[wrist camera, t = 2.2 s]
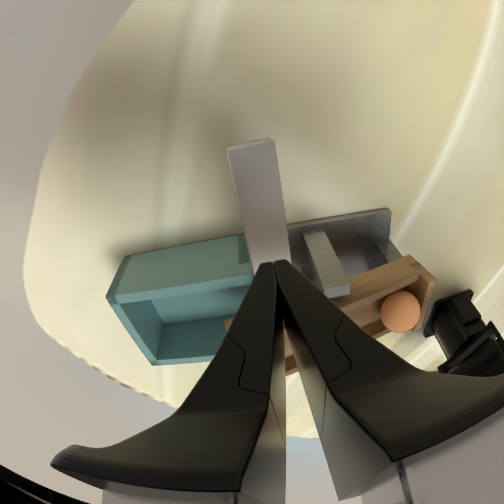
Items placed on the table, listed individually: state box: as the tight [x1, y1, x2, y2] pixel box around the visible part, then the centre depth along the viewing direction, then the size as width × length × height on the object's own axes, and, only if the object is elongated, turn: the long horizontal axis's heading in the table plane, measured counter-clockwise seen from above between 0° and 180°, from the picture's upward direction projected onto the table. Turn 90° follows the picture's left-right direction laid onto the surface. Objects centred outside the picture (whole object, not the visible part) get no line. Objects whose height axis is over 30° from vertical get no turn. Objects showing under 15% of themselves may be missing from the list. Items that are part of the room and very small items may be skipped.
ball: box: [381, 291, 420, 333], centre depth 18 cm, size 3×3×3 cm
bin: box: [106, 234, 254, 366], centre depth 23 cm, size 9×11×5 cm
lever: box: [224, 138, 437, 376], centre depth 16 cm, size 16×14×3 cm
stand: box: [287, 208, 402, 298], centre depth 21 cm, size 9×11×7 cm
